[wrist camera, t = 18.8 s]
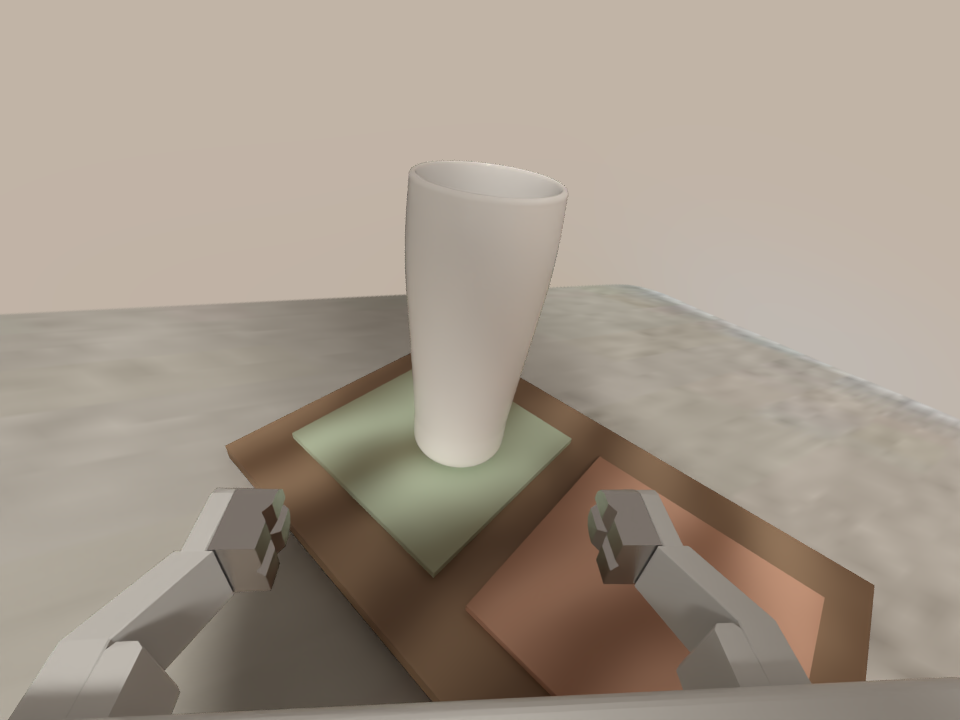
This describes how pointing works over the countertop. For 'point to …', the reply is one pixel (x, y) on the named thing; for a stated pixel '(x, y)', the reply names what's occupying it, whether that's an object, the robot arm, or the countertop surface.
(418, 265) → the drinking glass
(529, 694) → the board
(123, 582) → the countertop surface
